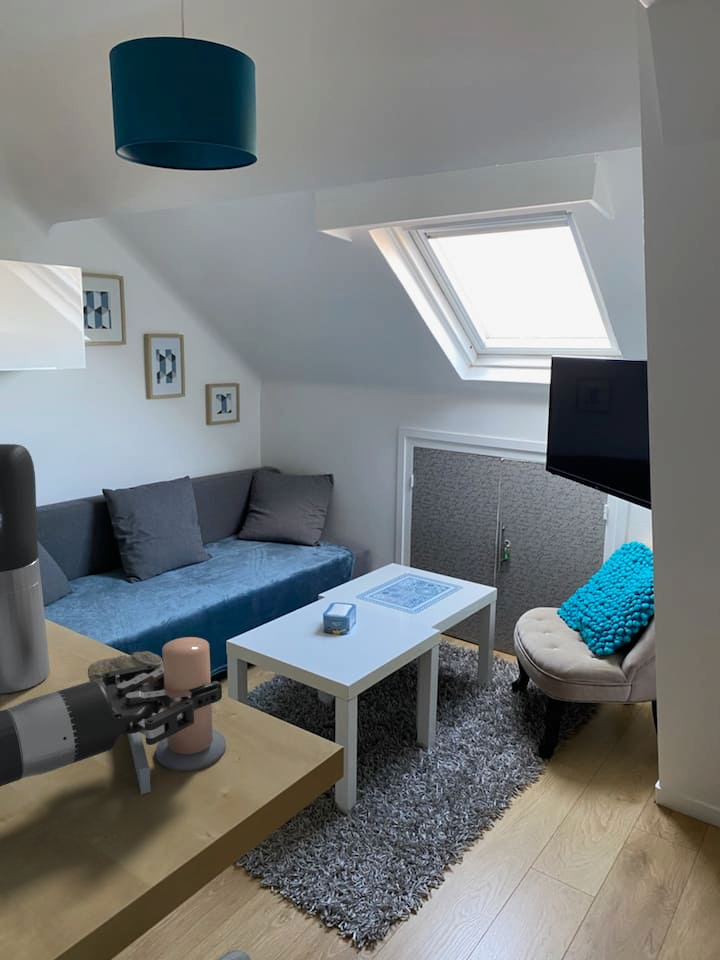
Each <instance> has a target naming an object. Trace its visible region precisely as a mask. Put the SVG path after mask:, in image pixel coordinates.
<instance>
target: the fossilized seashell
mask: <svg viewBox="0 0 720 960" xmlns="http://www.w3.org/2000/svg"><path fill="white" fill-rule="evenodd" d="M147 664H154V665H155V669H160V668H163V657H161V656H160V655H158V654H156V653H153V652H151V651H147V650H146V651H145V650H144V651H135V652H133V653H132V654H131V655H128V656H127V655H119V656H117V657H111V658H106V659H101V660H97V661H94V662H92V663H91V664H90V665H89V666H88V669H87V676H88V680H89V682H90V681H98V682H100V683H101V684H102V685H103V682H102V681H103V678H102V675H103V674H104V673H106V672H111V671H116V670H121V669H126V668H132V667H137V666H142V665H147ZM139 675H140V674H139ZM139 675H136V676H135V677H137V676H139ZM135 677H134V678H135ZM123 681H124V680H123ZM154 687H155V686H154ZM158 702H159V703H163V702H162V701H160V700H158Z"/></svg>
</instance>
